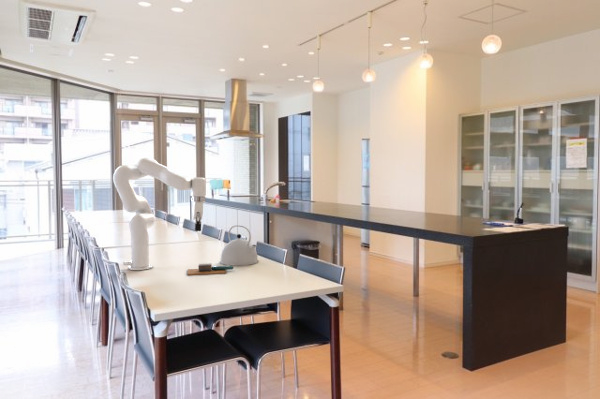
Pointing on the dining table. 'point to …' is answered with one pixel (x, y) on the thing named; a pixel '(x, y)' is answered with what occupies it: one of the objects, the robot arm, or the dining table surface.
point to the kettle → (239, 251)
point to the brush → (208, 267)
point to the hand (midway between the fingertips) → (198, 229)
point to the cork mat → (196, 272)
